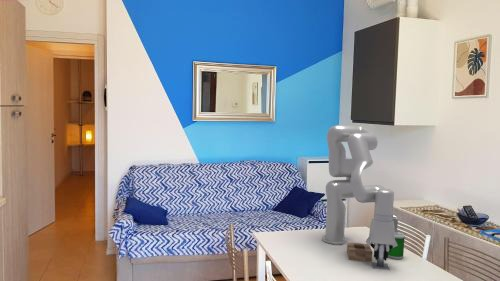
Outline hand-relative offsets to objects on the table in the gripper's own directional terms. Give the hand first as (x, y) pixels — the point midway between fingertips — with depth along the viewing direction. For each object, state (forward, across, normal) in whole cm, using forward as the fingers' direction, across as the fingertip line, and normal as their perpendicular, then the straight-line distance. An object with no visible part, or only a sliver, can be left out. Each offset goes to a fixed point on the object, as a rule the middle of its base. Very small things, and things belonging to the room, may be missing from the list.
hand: (380, 258), depth 170 cm
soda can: (+4, -8, -13) cm, 16 cm away
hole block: (+4, +8, -9) cm, 13 cm away
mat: (+4, 0, 0) cm, 4 cm away
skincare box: (+4, -7, -26) cm, 28 cm away
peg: (+3, 0, 0) cm, 3 cm away
